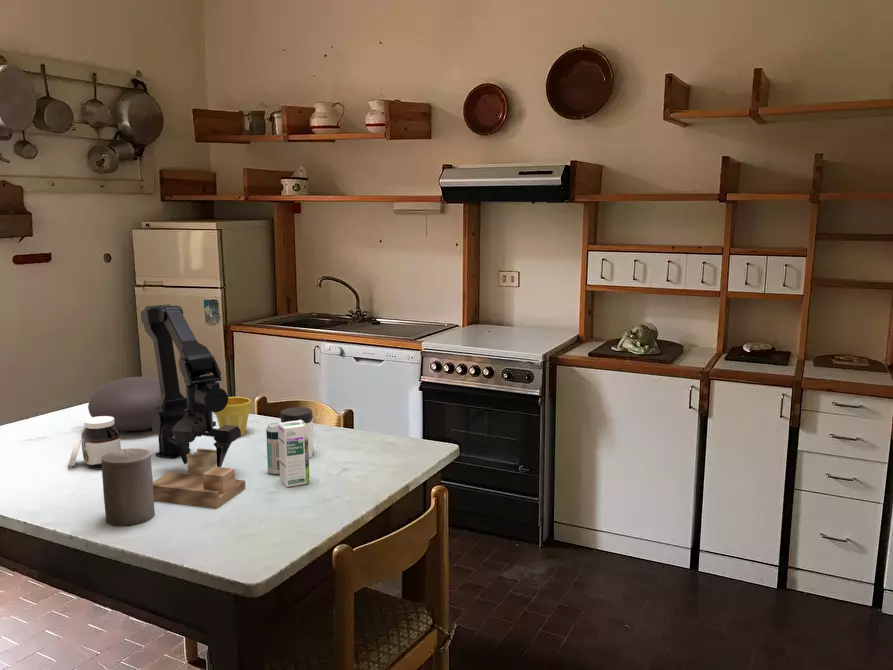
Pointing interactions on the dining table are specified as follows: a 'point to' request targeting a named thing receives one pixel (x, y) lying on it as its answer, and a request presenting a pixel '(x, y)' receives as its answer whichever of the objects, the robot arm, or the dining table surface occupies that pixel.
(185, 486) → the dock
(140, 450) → the pillar candle
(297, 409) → the jar
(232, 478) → the box
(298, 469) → the syrup box
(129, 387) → the flattened ellipsoid
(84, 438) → the spread jar
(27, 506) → the dining table surface
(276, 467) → the beer can
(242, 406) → the plant pot
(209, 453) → the flanged wooden block
